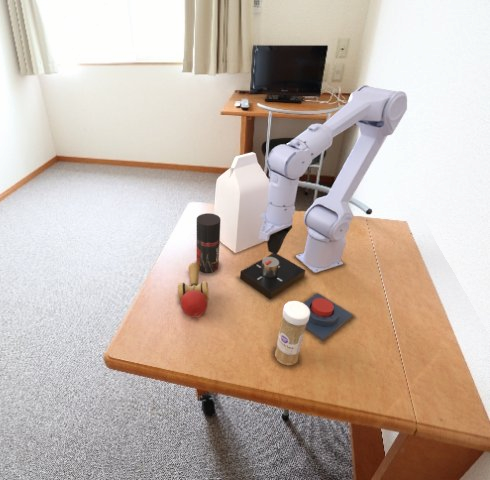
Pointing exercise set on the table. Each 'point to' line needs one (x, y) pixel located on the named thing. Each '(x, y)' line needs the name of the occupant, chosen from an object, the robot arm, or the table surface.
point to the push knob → (322, 307)
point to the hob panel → (272, 286)
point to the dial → (269, 267)
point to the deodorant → (208, 242)
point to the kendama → (193, 293)
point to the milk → (241, 202)
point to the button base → (325, 320)
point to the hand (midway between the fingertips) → (273, 251)
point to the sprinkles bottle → (291, 332)
